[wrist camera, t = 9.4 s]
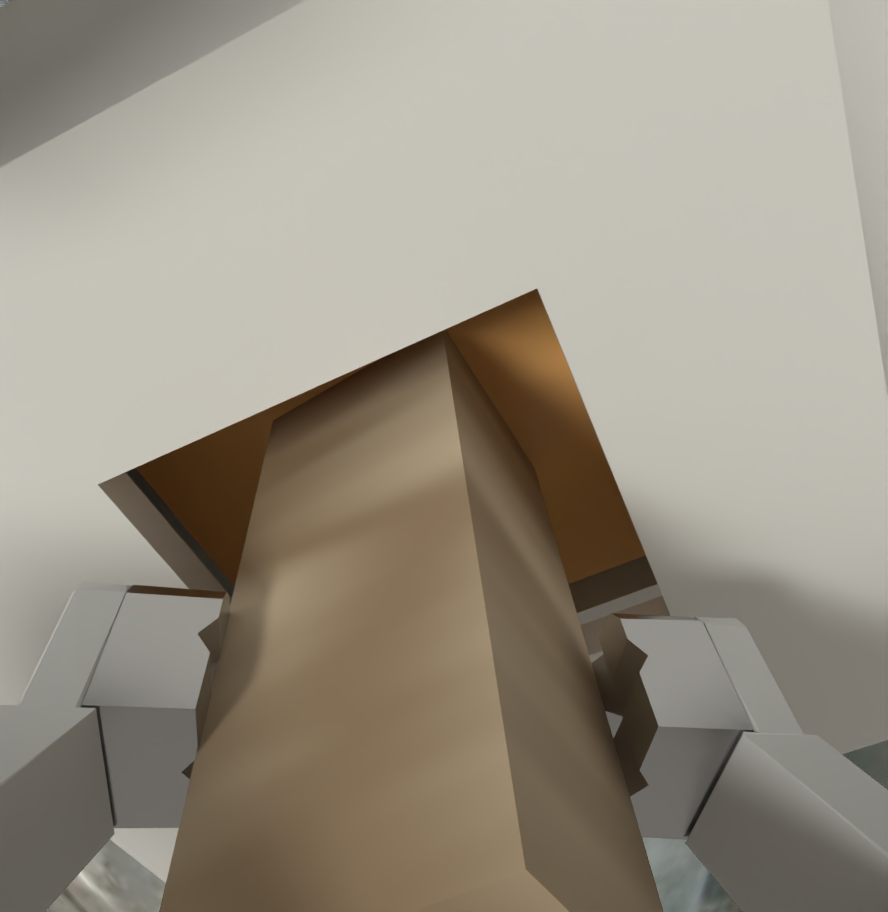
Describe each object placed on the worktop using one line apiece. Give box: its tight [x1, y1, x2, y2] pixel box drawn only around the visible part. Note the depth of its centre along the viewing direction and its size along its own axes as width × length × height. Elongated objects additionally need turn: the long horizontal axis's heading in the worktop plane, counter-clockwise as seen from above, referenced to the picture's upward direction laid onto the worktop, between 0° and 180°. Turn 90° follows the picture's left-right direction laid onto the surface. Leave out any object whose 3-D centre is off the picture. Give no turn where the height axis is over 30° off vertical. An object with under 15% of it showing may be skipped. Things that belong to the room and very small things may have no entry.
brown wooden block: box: [159, 330, 663, 912], centre depth 9 cm, size 3×3×8 cm
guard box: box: [0, 0, 888, 883], centre depth 13 cm, size 14×14×7 cm
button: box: [136, 289, 645, 587], centre depth 14 cm, size 8×8×3 cm
